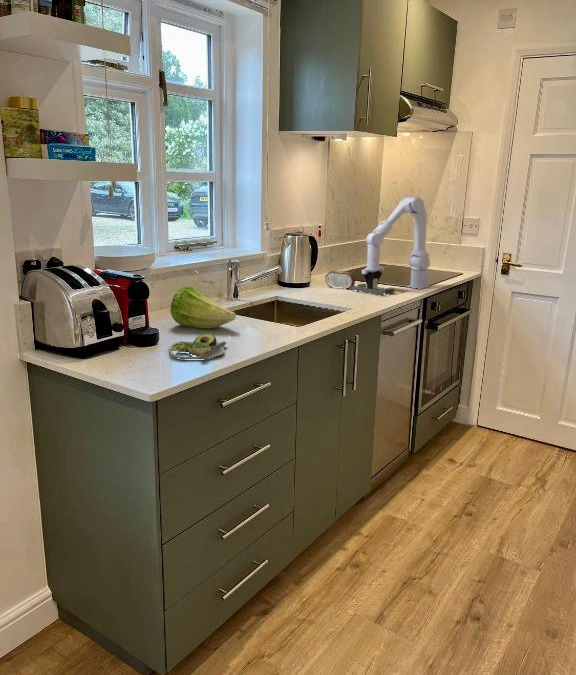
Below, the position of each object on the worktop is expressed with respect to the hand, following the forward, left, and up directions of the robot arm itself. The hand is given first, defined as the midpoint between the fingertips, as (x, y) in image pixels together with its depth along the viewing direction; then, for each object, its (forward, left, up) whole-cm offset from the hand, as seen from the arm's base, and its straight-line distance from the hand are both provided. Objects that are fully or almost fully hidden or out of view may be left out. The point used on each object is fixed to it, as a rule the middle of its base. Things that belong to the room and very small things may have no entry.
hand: (372, 287), depth 275 cm
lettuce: (+100, +2, -2) cm, 100 cm away
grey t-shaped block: (0, +2, -2) cm, 3 cm away
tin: (+6, -15, -2) cm, 16 cm away
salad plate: (+120, +24, -2) cm, 122 cm away
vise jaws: (+3, +2, -2) cm, 4 cm away
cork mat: (-9, +7, -2) cm, 12 cm away
